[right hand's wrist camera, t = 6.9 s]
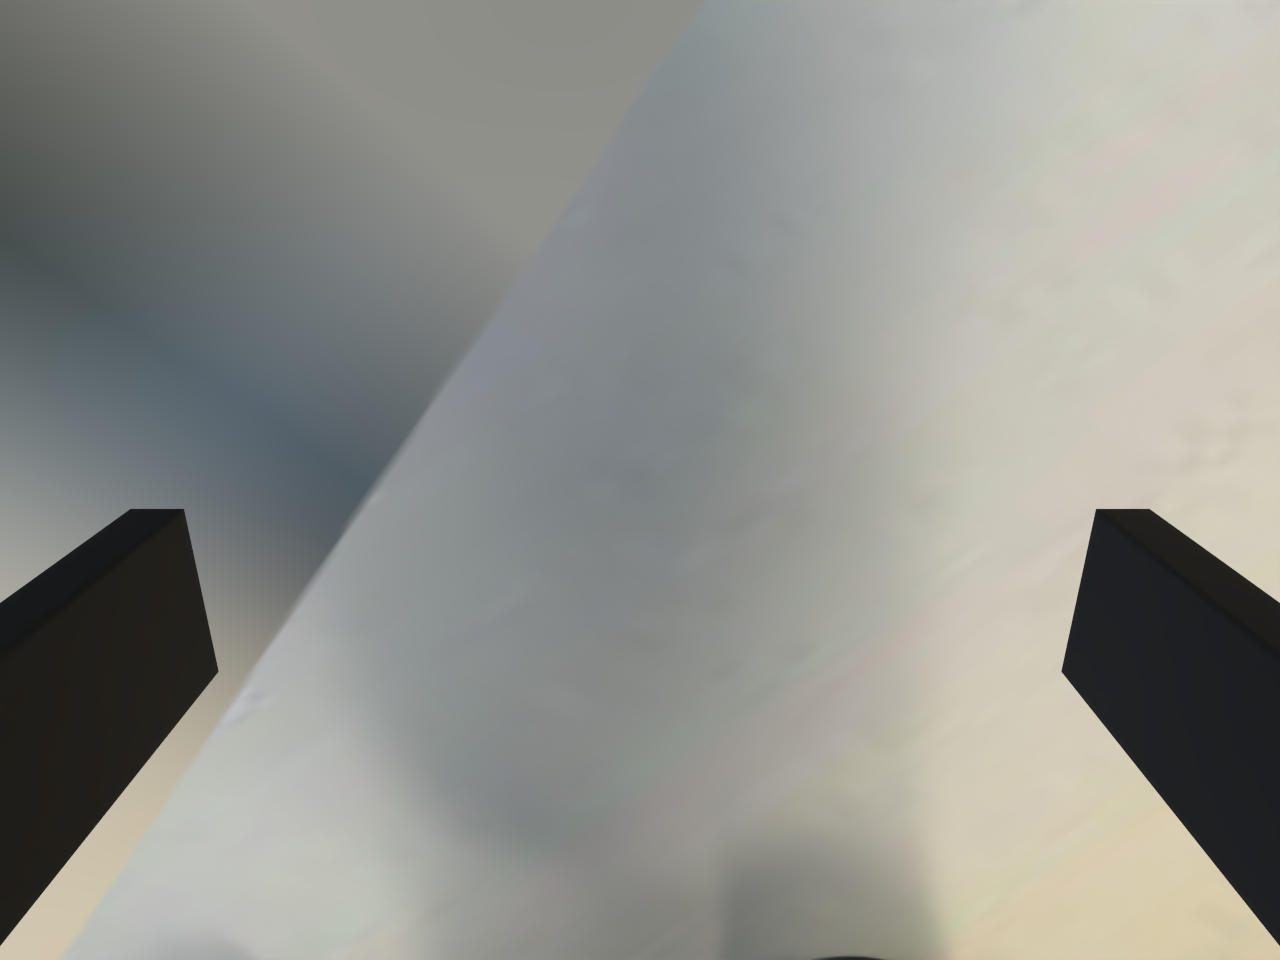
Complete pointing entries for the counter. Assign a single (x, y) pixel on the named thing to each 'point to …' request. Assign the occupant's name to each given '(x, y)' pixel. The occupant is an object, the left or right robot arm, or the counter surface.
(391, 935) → the counter surface
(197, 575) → the right robot arm
